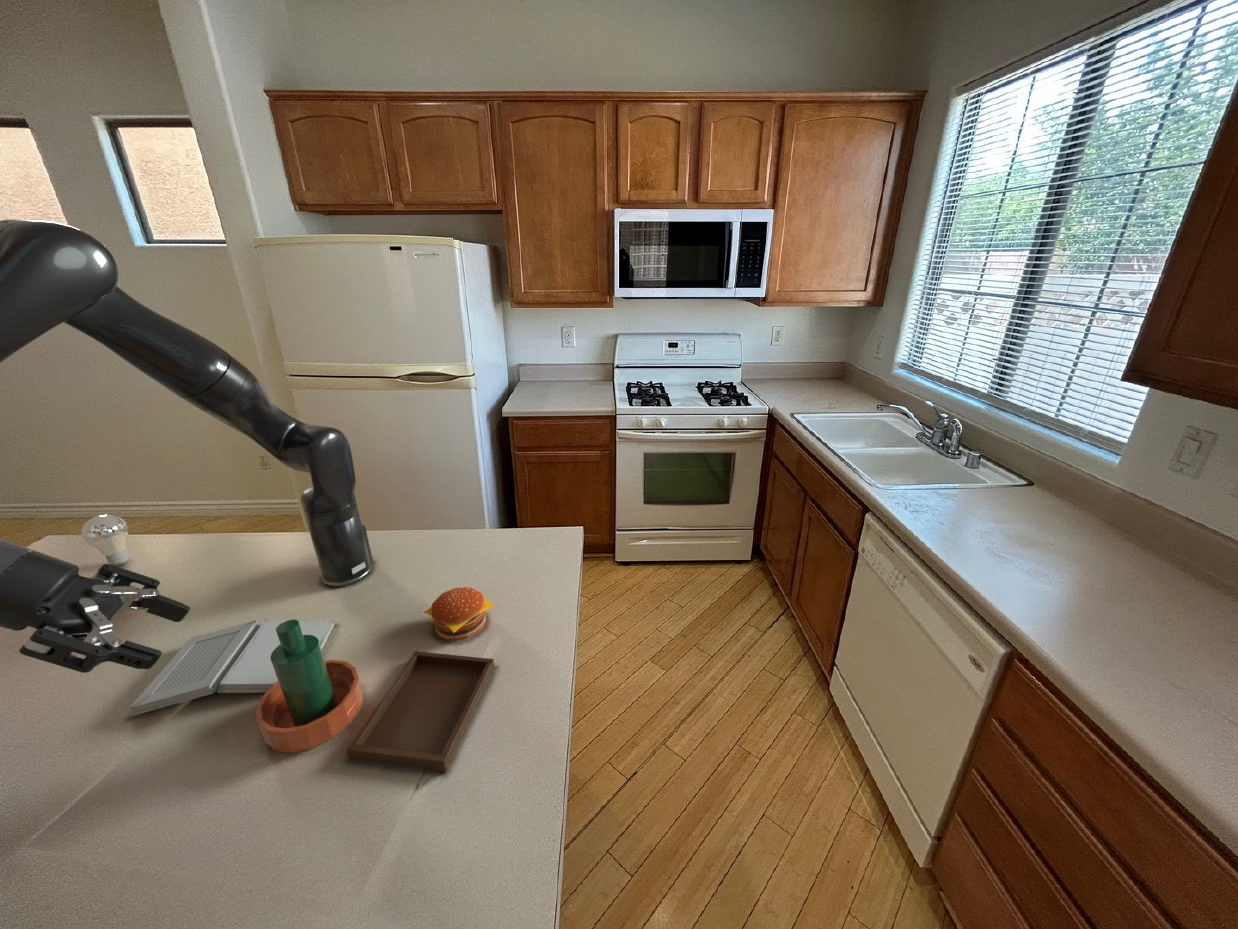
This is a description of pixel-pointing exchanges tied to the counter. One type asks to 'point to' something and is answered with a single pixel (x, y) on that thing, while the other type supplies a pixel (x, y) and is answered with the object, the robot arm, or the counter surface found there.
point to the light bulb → (107, 537)
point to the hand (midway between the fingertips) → (172, 636)
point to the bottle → (302, 674)
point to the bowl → (293, 739)
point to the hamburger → (459, 613)
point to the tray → (424, 711)
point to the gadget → (222, 664)
